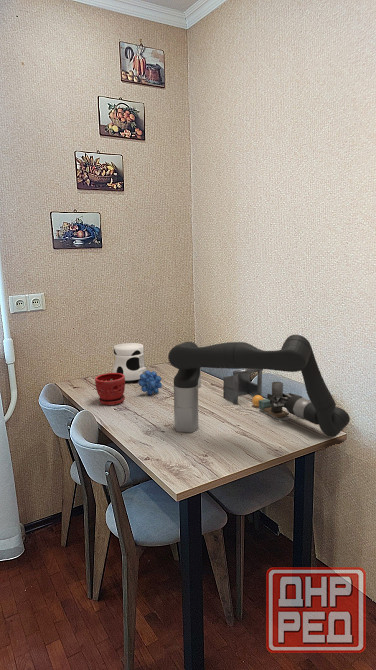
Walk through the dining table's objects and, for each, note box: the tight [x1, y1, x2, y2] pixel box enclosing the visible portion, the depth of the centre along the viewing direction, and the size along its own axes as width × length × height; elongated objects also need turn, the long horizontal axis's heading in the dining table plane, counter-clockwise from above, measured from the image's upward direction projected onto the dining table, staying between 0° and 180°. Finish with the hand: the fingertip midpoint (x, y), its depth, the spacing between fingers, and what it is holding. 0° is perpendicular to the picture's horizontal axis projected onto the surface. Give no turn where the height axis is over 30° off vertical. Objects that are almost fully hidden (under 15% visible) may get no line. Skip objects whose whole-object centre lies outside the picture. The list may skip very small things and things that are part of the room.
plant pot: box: [94, 372, 126, 406], centre depth 202 cm, size 13×13×12 cm
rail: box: [259, 409, 292, 422], centre depth 186 cm, size 14×5×1 cm, turn 29°
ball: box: [251, 395, 264, 408], centre depth 195 cm, size 5×5×5 cm
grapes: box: [137, 369, 163, 396], centre depth 211 cm, size 12×7×12 cm, turn 116°
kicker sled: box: [258, 381, 290, 418], centre depth 185 cm, size 12×6×13 cm, turn 29°
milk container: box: [112, 342, 147, 383], centre depth 236 cm, size 17×17×18 cm
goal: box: [222, 369, 264, 405], centre depth 204 cm, size 10×15×15 cm, turn 119°
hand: (272, 395), depth 186 cm, fingers closed on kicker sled, 4 cm apart
